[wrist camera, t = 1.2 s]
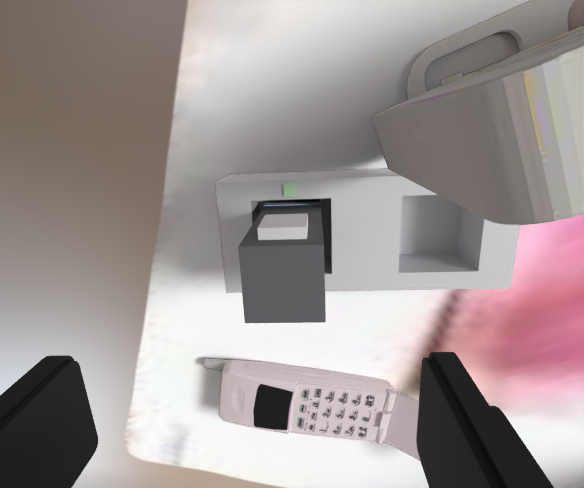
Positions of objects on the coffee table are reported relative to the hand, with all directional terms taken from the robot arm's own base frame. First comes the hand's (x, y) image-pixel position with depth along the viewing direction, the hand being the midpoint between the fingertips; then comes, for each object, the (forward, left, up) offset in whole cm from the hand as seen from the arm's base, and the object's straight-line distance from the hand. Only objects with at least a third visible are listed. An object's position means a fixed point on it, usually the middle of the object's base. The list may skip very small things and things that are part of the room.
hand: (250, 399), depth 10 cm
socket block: (0, -5, -21) cm, 22 cm away
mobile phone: (-17, -3, -21) cm, 28 cm away
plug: (0, 0, -20) cm, 20 cm away
